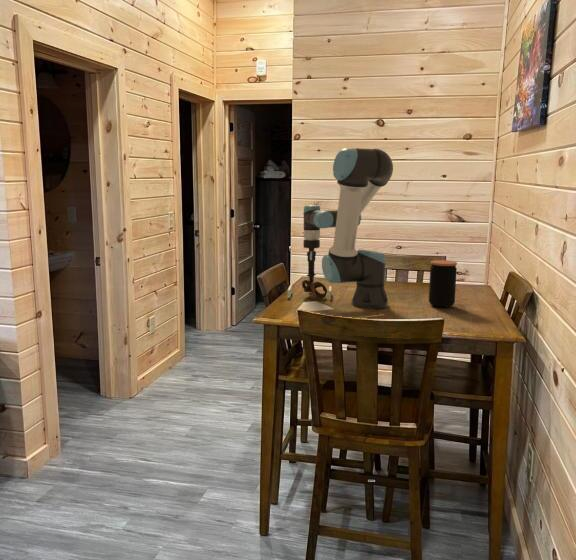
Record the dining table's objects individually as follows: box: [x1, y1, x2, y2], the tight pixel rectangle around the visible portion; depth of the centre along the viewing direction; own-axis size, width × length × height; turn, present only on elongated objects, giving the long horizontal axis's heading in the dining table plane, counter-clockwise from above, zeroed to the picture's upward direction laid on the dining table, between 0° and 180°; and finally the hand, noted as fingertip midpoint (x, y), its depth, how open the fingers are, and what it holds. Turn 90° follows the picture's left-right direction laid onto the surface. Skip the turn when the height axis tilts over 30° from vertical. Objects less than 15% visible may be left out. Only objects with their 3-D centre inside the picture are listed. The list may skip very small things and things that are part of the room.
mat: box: [296, 300, 334, 313], centre depth 225 cm, size 16×16×1 cm
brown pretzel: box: [287, 284, 332, 301], centre depth 245 cm, size 12×19×4 cm, turn 85°
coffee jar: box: [428, 259, 458, 308], centre depth 229 cm, size 11×11×18 cm
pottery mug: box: [301, 279, 328, 301], centre depth 242 cm, size 12×9×8 cm
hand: (311, 289), depth 255 cm, fingers closed
